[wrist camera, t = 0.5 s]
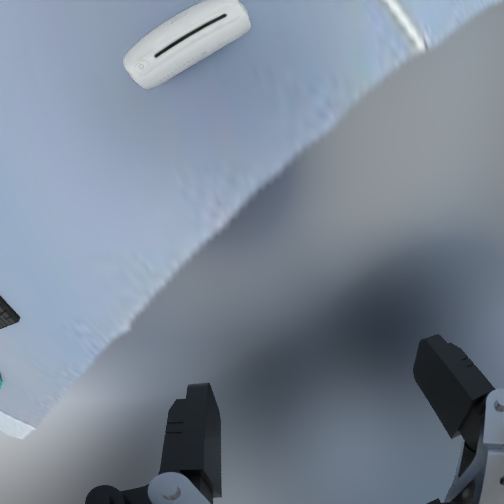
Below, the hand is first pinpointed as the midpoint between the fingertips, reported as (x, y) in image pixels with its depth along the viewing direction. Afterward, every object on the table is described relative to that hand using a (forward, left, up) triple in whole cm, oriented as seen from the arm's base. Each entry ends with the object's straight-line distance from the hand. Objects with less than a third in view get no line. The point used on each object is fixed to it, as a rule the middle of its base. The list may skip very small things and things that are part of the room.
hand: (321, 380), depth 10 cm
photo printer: (-11, +5, -29) cm, 32 cm away
